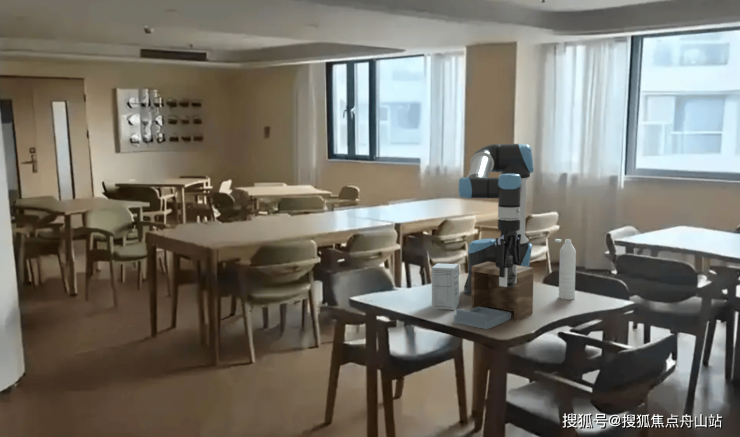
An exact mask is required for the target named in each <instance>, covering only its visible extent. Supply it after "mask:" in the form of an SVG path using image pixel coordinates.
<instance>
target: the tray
mask: <svg viewBox="0 0 740 437" xmlns="http://www.w3.org/2000/svg"><path fill="white" fill-rule="evenodd" d="M511 319H512V311H511V312H510V311H507V310H506V311H505V310H502V309H500V310H499V309H495V308H491V307H490V308H489V307H479V306H478V307H475V308H473V309H471V308H470V309H468V310H466V309H460V308H456V309H455V315H454V316H453V323H455V324H459V325H465V326H469V327H473V328H478V329H479V328H480V329H484V330H489V329H491V328H494V327H495V326H498V325H500V324H503V323H505V322H507V321H509V320H511Z"/></svg>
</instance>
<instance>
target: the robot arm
mask: <svg viewBox="0 0 740 437" xmlns="http://www.w3.org/2000/svg"><path fill="white" fill-rule="evenodd" d="M469 164H470V165H469V166H470V169H469V171H468V175H467V176H466V177H460V178H459V180H458V196H459V197H460V198H463V199H498V200H497V203H498V205H497V206H498V207H497V218H498V220H497V230H498V231H500V236H499V237H496V238H480V239H476V240H472V241H471V242H470V243H469V244H468V251H467V254H468V257H467V258H468V263H467V264H468V267H467V272H468V273H467V278H466V280H465V282H464V283H465V284H464V286H463V293H464V294H465V295H469V296H471V275H472V266H474V265H477V264H481V263H484V262H495V263H496V267H498V268H499V286H503V287H507V268H506V264H507V258H508V252H509V254H510V255H512V256H513V274H515V275H516V276H517V266H525V267H530V262H531V259H532V258H531V256H532V249H533V243H531V242H529V238H528V236H526V216H527V213H526V210H527V209H526V208H527V205H526V204H527V202H526V201H527V180H529V179H530V178H531V174H532V173H534V172H535V171H534V169H535V168H534V158H533V152H532V146H531V145H529V144H527V143H524V144H523V143H499V144H498V143H495V144H489V145H486V146H483V147H481V148H479V149H477V151H475V152H474V153H473V154H472V156H471V158H470V162H469ZM490 173H501V174H499V176H498V177H489V176H490ZM513 283H517V277H516V279H515V281H514V282H513Z"/></svg>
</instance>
